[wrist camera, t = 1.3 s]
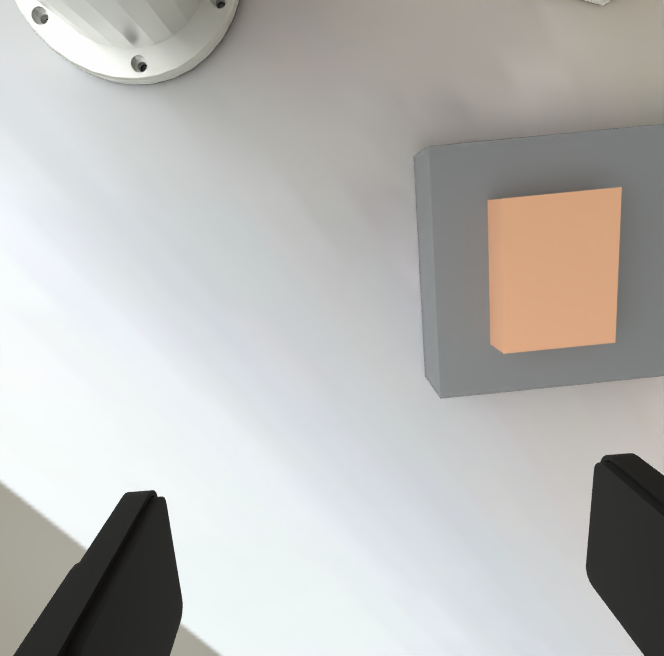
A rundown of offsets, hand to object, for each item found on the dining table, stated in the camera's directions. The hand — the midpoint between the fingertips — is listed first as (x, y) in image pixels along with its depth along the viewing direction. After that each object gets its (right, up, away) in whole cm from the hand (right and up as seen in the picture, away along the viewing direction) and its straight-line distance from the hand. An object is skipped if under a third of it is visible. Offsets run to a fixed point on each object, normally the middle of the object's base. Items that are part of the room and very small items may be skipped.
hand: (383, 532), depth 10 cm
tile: (+11, +8, +16) cm, 21 cm away
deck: (+12, +9, +20) cm, 25 cm away
